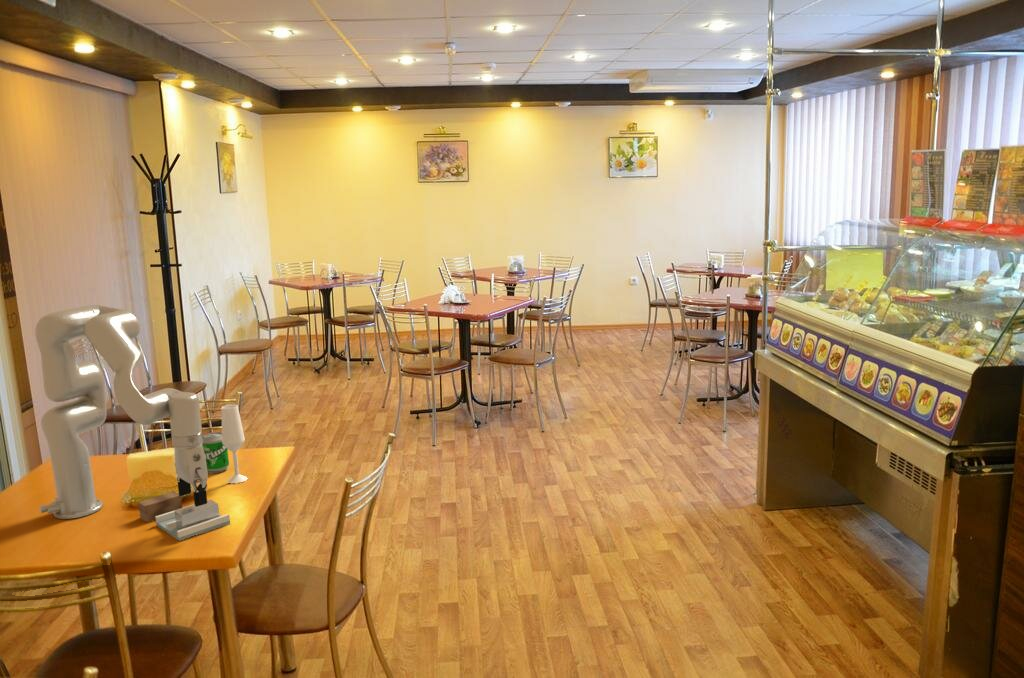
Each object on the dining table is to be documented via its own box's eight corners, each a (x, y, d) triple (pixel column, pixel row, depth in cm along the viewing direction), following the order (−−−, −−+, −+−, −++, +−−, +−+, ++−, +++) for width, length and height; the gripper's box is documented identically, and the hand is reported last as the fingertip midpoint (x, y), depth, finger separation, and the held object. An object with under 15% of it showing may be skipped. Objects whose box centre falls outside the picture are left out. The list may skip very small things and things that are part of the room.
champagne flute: (229, 477, 253) (221, 404, 248) (251, 475, 253) (243, 403, 249) (223, 484, 246) (215, 410, 242) (246, 483, 247) (238, 409, 242)
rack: (179, 541, 208) (178, 532, 207) (156, 525, 218) (155, 516, 218) (230, 523, 218) (229, 514, 217) (205, 509, 228) (204, 500, 227)
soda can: (206, 467, 262) (202, 432, 260) (230, 464, 264) (226, 430, 262) (203, 475, 255) (199, 439, 253) (228, 472, 257) (224, 437, 254)
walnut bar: (146, 523, 220) (144, 506, 220) (140, 518, 224) (138, 501, 223) (182, 511, 227) (180, 495, 226) (175, 507, 231) (173, 491, 230)
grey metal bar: (183, 533, 210) (181, 515, 209) (176, 528, 214) (174, 510, 213) (220, 521, 217) (218, 503, 216) (212, 516, 220) (210, 499, 219)
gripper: (215, 443, 207) (221, 504, 211) (187, 428, 219) (192, 487, 223) (187, 450, 202) (193, 513, 206) (159, 435, 214) (165, 494, 218)
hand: (193, 499), depth 214 cm, fingers open, 9 cm apart
